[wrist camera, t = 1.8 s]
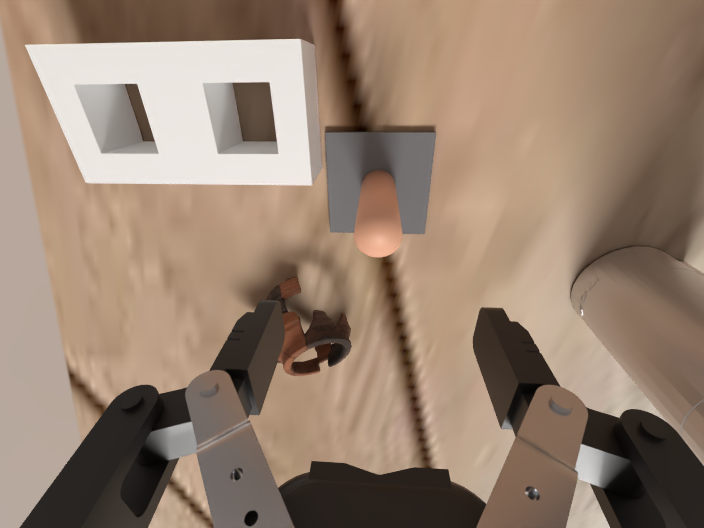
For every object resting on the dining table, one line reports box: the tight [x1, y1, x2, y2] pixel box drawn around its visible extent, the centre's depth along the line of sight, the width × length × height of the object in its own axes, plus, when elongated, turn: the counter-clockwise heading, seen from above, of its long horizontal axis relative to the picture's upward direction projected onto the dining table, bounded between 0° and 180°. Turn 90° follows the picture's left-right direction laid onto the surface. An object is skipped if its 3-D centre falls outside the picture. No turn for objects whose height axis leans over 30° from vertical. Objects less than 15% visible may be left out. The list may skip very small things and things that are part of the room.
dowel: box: [354, 170, 403, 257], centre depth 24 cm, size 3×3×10 cm
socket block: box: [25, 39, 322, 185], centre depth 24 cm, size 18×9×5 cm, turn 91°
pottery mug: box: [267, 278, 352, 376], centre depth 35 cm, size 12×10×8 cm
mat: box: [325, 132, 436, 234], centre depth 29 cm, size 9×9×1 cm
